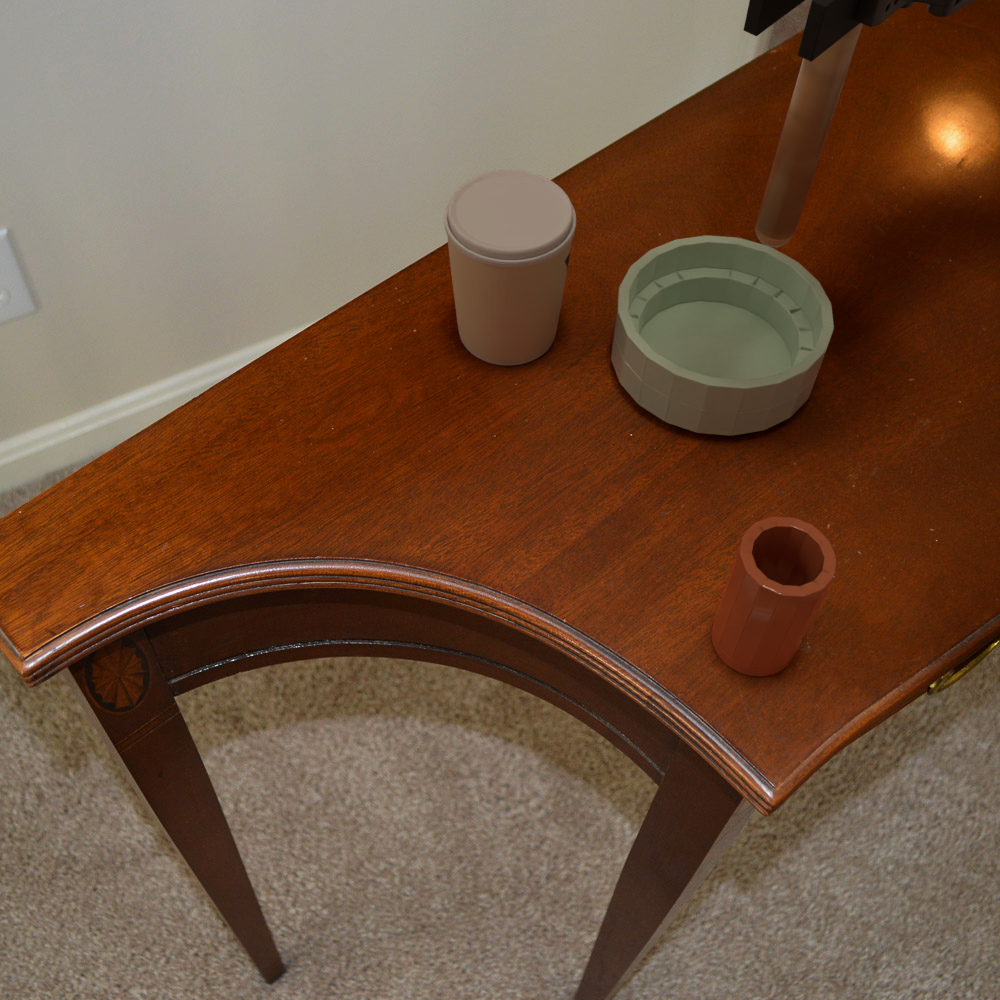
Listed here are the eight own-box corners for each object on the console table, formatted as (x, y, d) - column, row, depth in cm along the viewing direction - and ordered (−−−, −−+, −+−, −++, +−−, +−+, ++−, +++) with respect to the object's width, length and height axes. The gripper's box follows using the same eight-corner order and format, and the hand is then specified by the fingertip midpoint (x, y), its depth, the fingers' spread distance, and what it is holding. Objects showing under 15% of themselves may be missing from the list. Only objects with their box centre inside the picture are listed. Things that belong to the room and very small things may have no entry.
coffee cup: (590, 342, 86) (603, 221, 76) (491, 392, 82) (492, 272, 73) (521, 273, 90) (526, 151, 80) (425, 318, 87) (418, 196, 77)
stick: (797, 242, 67) (941, -193, 48) (776, 261, 66) (916, -178, 47) (764, 225, 68) (893, -210, 49) (743, 243, 67) (867, -195, 48)
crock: (811, 635, 71) (854, 551, 62) (764, 693, 68) (802, 614, 60) (742, 587, 73) (775, 500, 64) (693, 642, 70) (721, 558, 62)
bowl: (851, 358, 85) (873, 302, 80) (737, 477, 78) (754, 423, 73) (688, 265, 91) (700, 208, 86) (569, 368, 84) (574, 311, 79)
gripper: (1116, -38, 61) (905, 158, 51) (874, -129, 67) (641, 30, 56) (1187, -184, 55) (963, 4, 44) (914, -271, 61) (660, -121, 50)
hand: (783, 18), depth 50 cm, fingers closed on stick, 2 cm apart
